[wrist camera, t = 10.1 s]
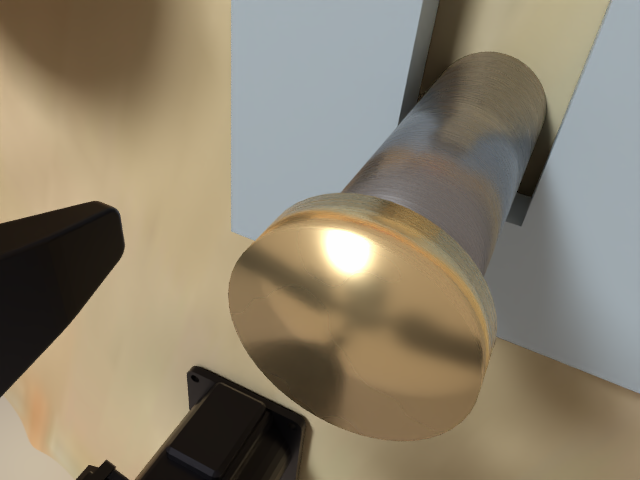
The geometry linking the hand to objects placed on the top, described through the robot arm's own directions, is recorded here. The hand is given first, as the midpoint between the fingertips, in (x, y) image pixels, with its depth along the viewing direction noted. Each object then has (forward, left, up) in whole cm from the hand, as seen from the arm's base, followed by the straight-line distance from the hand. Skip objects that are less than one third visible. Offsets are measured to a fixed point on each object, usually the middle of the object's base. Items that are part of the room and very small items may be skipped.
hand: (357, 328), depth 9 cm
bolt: (0, 0, -9) cm, 9 cm away
